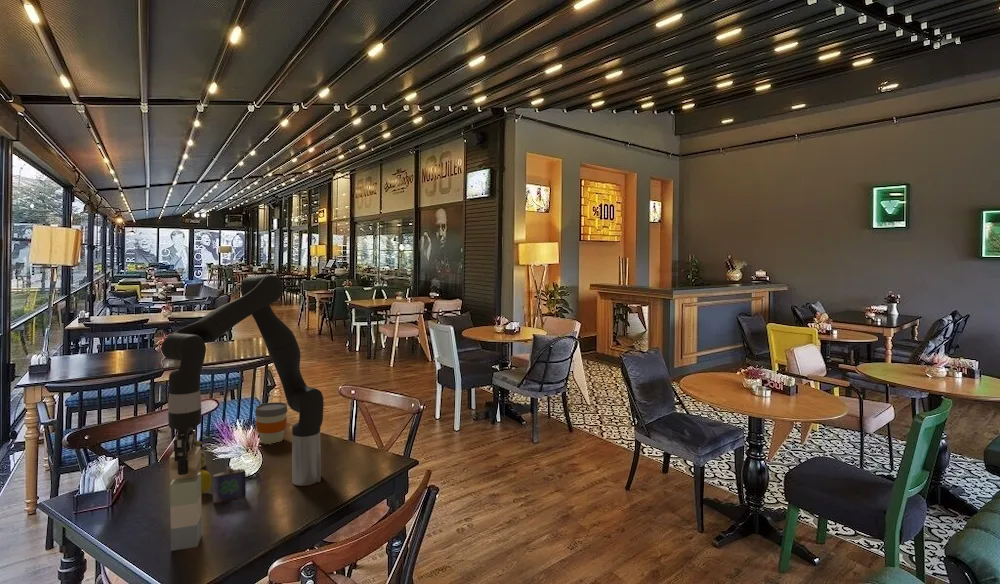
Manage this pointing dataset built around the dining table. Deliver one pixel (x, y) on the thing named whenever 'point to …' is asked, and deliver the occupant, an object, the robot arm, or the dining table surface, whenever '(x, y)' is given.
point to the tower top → (185, 491)
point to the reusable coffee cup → (271, 421)
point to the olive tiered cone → (203, 455)
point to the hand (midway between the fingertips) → (186, 469)
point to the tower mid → (186, 515)
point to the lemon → (205, 481)
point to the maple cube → (193, 464)
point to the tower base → (186, 536)
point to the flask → (229, 485)
